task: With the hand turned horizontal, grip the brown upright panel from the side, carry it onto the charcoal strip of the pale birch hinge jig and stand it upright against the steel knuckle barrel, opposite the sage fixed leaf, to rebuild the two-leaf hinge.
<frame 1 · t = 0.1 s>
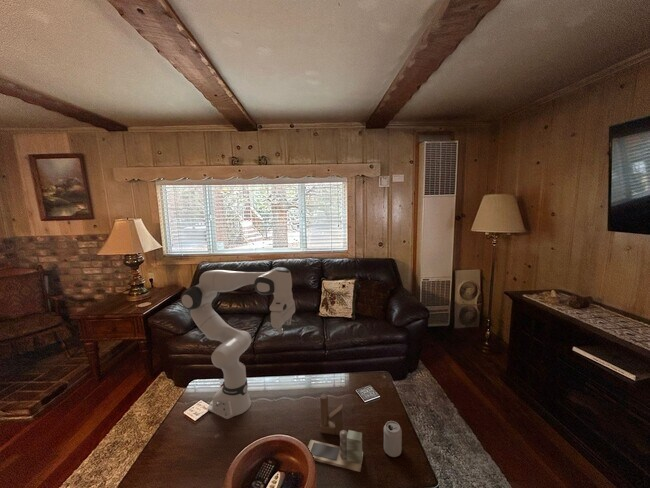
hand: (285, 328, 129), 48 cm above the table, tool pointing down, fingers open, 8 cm apart
can: (392, 451, 116), on the table
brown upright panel: (332, 431, 127), on the table
hinge jig: (333, 456, 114), on the table
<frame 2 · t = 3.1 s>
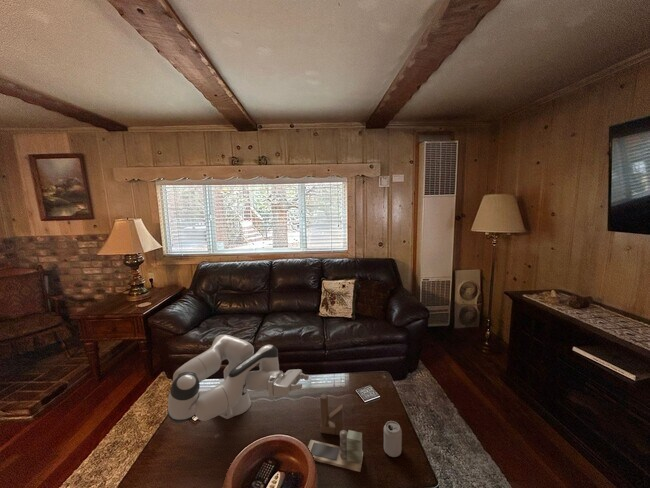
hand: (305, 381, 121), 27 cm above the table, tool horizontal, fingers open, 8 cm apart
nothing on the table moved.
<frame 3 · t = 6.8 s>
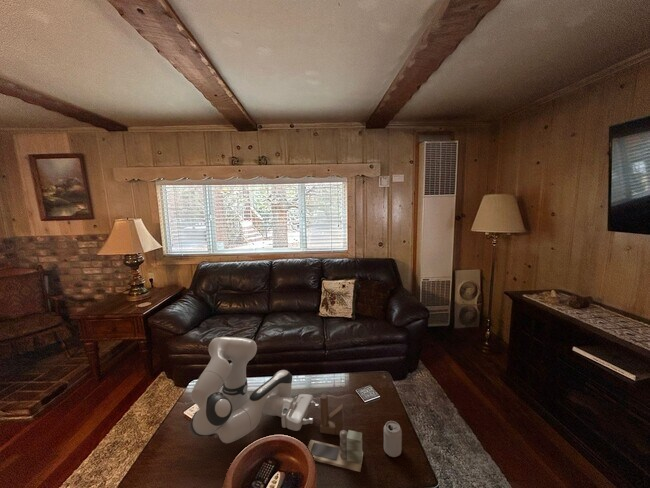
hand: (316, 413, 127), 8 cm above the table, tool horizontal, fingers open, 8 cm apart
nothing on the table moved.
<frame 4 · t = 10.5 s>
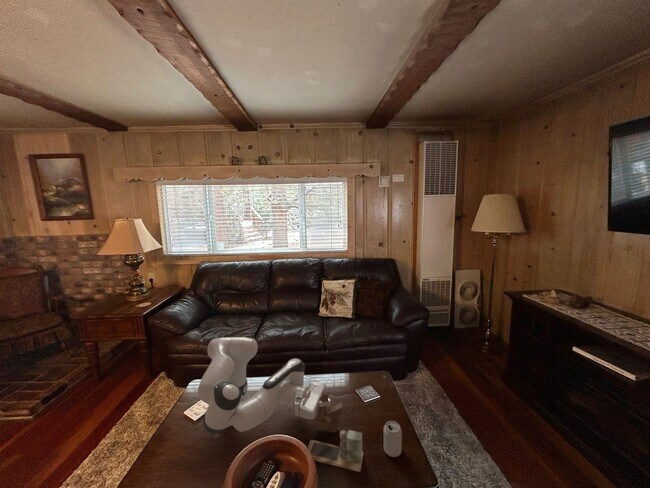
hand: (330, 402, 124), 16 cm above the table, tool horizontal, fingers closed, pressing on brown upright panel
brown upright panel: (325, 427, 127), point 2 cm above the table, touching gripper
everything else where it was.
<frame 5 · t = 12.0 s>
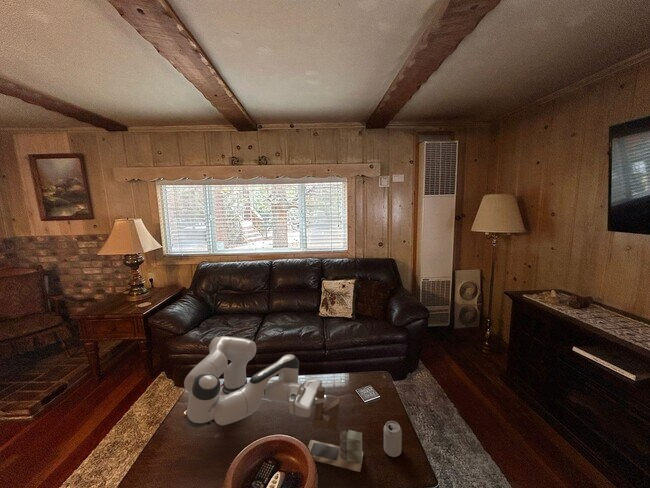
hand: (326, 399, 118), 22 cm above the table, tool horizontal, fingers closed on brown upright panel
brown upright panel: (324, 425, 120), point 8 cm above the table, touching gripper
everything else where it was.
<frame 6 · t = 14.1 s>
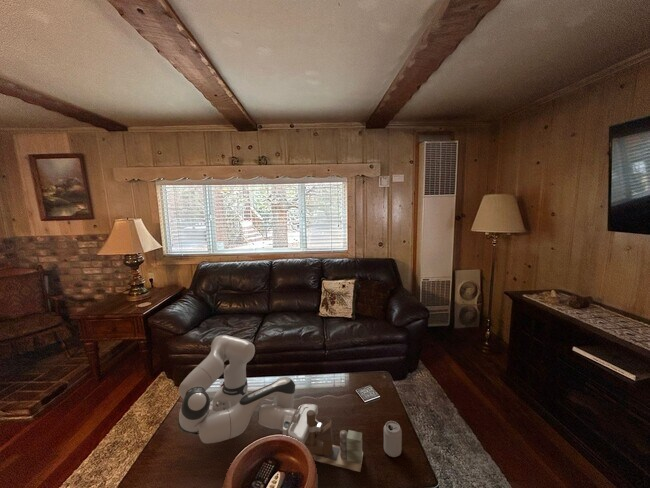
hand: (321, 427, 113), 13 cm above the table, tool horizontal, fingers closed
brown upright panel: (319, 451, 115), point 1 cm above the table, touching hinge jig
everything else where it was.
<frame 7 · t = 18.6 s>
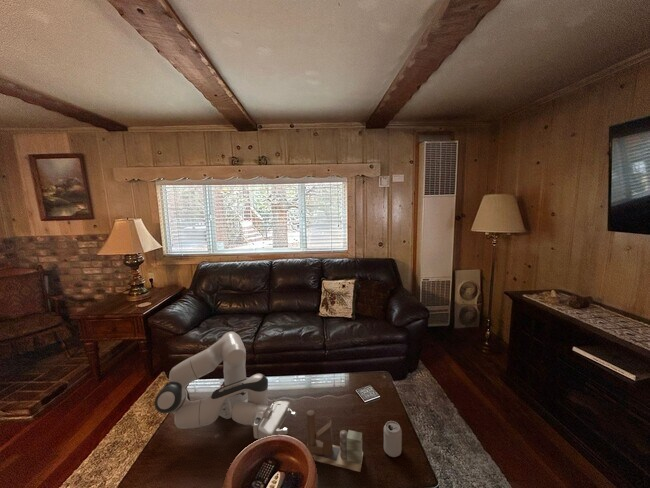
hand: (291, 422, 118), 12 cm above the table, tool horizontal, fingers open, 8 cm apart
nothing on the table moved.
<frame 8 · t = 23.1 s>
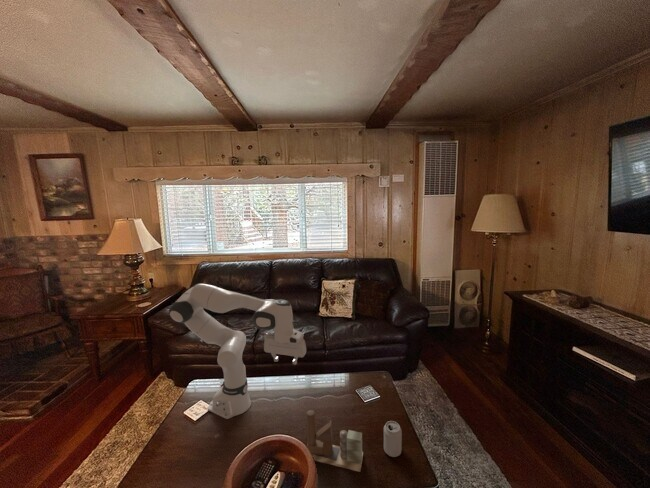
hand: (285, 362, 125), 34 cm above the table, tool pointing down, fingers open, 8 cm apart
nothing on the table moved.
at the end: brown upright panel inside the target area (2.4 cm from its centre), point 1.2 cm above the table; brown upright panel tilted 0°; the gripper is holding nothing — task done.
